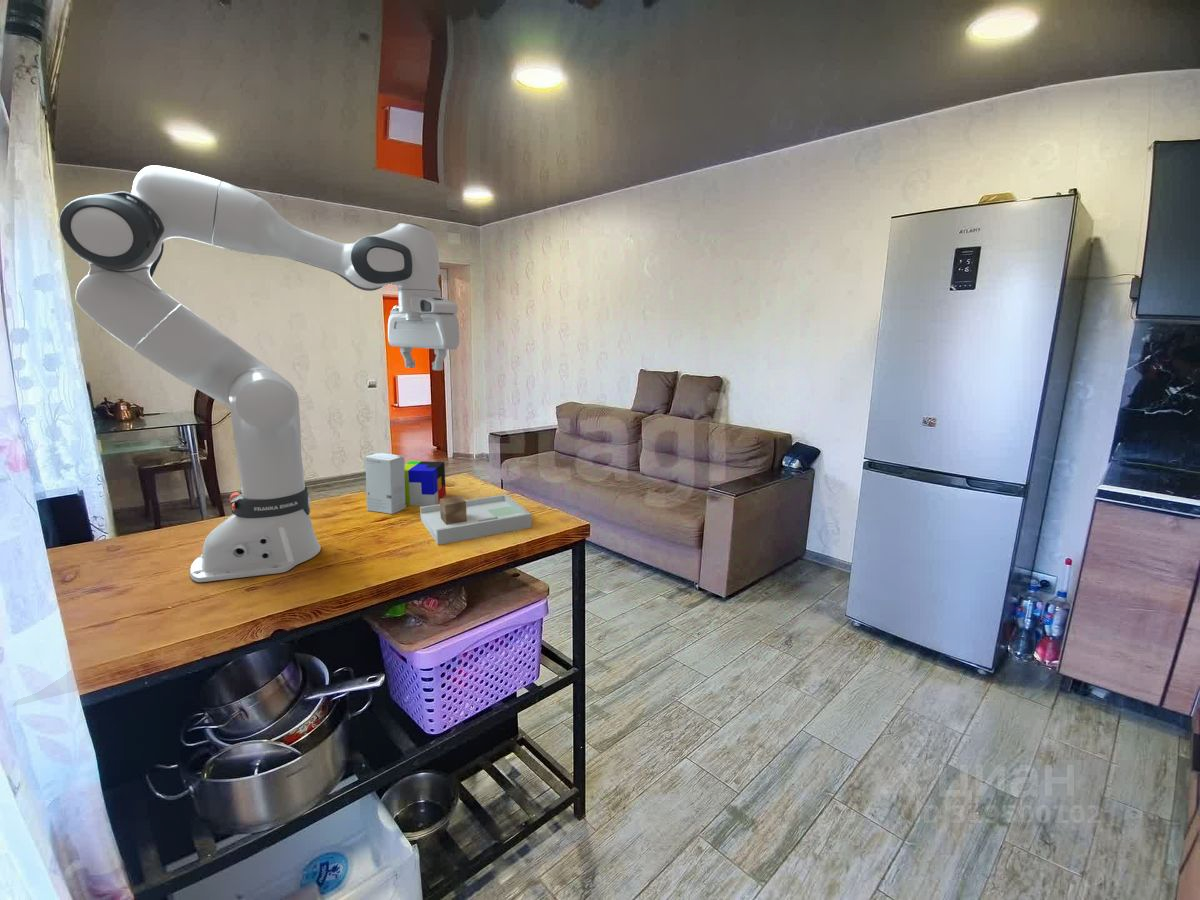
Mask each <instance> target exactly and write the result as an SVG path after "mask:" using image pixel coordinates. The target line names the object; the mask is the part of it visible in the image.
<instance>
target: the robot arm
mask: <svg viewBox="0 0 1200 900" xmlns="http://www.w3.org/2000/svg"><path fill="white" fill-rule="evenodd" d="M131 188H132V189H131V192H129V191H116V192H108V193H98V194H92V195H86V196H81V197H78V198H76V199H74V200H71V201H69V203H68V204H66V205H65V206H64V207H63V209H62V210H61V212H60V215H59V220H58V226H59V233H60V234H61V237H62V239H63V241H64V242H65V244H66V245H67V246H68V247H69V249H70V250H72V252H73V253H74V254H75V255H77V257H80V259H81V260H83V261H86V262H87V263H88V266H89V271H88V273H87V275H85V276H84V277H83V278H82V279H81V281H80V282H79V283H78V285H77V287H76V290H75V298H74V299H75V301H76V304H77V306H78V307H79V308H80V310H81V311H82V312H84V313H85V314H86V315H87V316H88V317H89V318H90V319H91V320H92V321H94V322H95V323H96V324H97V325H98V326H99V327H101V328H102V329H103V330H104V331H106V332H107V333H109V334H110V335H111V336H112V337H114V338H115V339H117V340H118V341H120V342H121V343H123V344H124V345H125V346H127V347H128V348H130V349H131V350H133V351H134V352H136V353H138V354H139V355H140V356H142V357H143V358H145V359H147V360H148V361H150V362H151V363H153V364H155V366H157V367H159V368H161V369H163V370H164V371H166V372H167V373H169V374H170V375H172V376H173V377H175V378H176V379H178V380H179V381H181V382H183V383H186V385H188V386H191V387H192V388H194V389H196V390H198V391H200V392H202V394H204V395H207V396H208V397H210V398H211V399H212V400H215V401H216V402H218V403H220V404H222V405H223V406H225V407H226V408H228V409H230V411H229V412H230V416H231V417H230V419H231V425H232V431H233V432H232V433H233V439H234V447H235V454H236V462H237V469H238V476H239V483H240V489H241V490H240V491H241V493H239V492H233V493H231V495H230V496H229V503H230V509H231V515H230V516H228V517H227V518H225V520H224V521H222V522H221V523H220V524H218V525H217V526H216V527H214V529H212V530H211V531H210V532H209V533H208V534H207V536H206V538H205V540H204V543H203V546H202V551H201V553H202V554H201V555H199V556H198V557H197V558H195V559H194V561H193V562H192V563H191V565H190V568H189V572H190V573H189V574H190V575H189V577H190V578H191V580H193V581H194V582H197V583H205V582H213V581H214V582H215V581H223V580H230V579H239V578H247V577H249V578H250V577H257V576H258V577H259V576H265V575H266V576H267V575H273V574H274V575H275V574H281V573H286V572H288V571H289V570H291V569H292V568H294V567H295V566H298V565H299V564H301V563H304V562H306V561H309V560H310V559H312V558H314V557H316V555H318V554H319V553H320V551H321V548H322V547H321V545H320V543H319V541H318V538H317V536H316V534H315V531H314V527H313V523H312V521H311V516H310V514H311V501H310V492H309V490H308V487H307V486H306V485H305V474H304V467H303V456H302V435H301V431H302V430H301V415H300V413H301V411H300V401H299V400H300V399H299V394H298V392H297V390H296V389H295V387H294V385H293V384H292V383H291V382H290V381H289V380H287V379H286V378H284V376H282V375H280V373H278V372H277V371H275V370H274V369H273V368H272V367H270V366H268V365H267V364H265V363H264V362H263V361H261V359H258V358H257V357H256V356H254V355H253V354H251V353H250V352H249V351H247V350H246V349H245V348H243V347H242V346H241V345H239V344H238V343H236V342H235V341H233V340H232V339H231V338H229V337H228V336H227V335H225V334H223V333H222V332H221V331H220V330H219V329H217V328H216V327H214V326H213V325H211V324H210V323H209V322H207V321H206V320H205V319H203V318H202V317H201V316H199V315H198V314H196V313H195V312H194V311H192V310H191V309H190V308H188V307H186V306H185V305H184V304H182V303H181V302H179V301H178V300H177V299H175V298H174V297H172V296H171V295H170V294H168V293H167V292H166V291H164V290H163V289H162V288H161V287H160V286H158V284H156V282H155V281H154V280H153V278H152V277H153V275H154V273H155V271H156V268H157V266H158V265H159V262H160V261H161V259H162V256H163V253H164V247H165V246H164V245H165V244H164V242H165V241H167V240H170V239H174V238H178V239H179V238H181V239H187V240H192V241H196V242H199V243H203V244H207V245H210V246H214V247H217V248H221V249H225V250H230V251H234V252H238V253H239V252H240V253H243V254H244V253H246V254H253V255H261V256H266V257H267V256H269V257H276V258H282V259H283V258H284V259H290V260H292V261H295V262H299V263H303V264H306V265H309V266H313V267H316V268H319V269H322V270H325V271H328V272H331V273H334V274H336V275H337V276H340V277H341V278H342V279H344V280H345V281H346V282H347V283H349V284H350V285H351V286H353V287H355V288H357V289H359V290H362V291H369V292H371V291H373V292H374V291H377V290H380V289H381V288H383V287H385V286H387V285H395V286H396V287H397V298H398V299H397V300H398V302H397V303H398V304H396V305H394V306H393V308H392V309H391V310H390V313H389V314H390V315H389V317H388V322H387V341H388V344H389V345H390V347H392V348H396V347H397V348H399V351H400V355H401V356H402V358H403V361H404V367H405V368H406V369H415V368H416V360H415V359H413V356H412V353H413V349H426V350H427V349H428V350H429V349H430V350H434V355H435V358H434V361H432V362H431V366H432V367H431V369H432V371H438V372H439V371H443V370H444V362H445V359H446V356H447V350H457V349H458V348H459V345H460V326H459V319H458V317H457V316H456V314H458V312H459V307H458V306H459V305H458V304H457V303H455V302H453V301H451V300H449V299H447V298H445V297H443V296H442V292H441V286H440V284H439V276H440V272H441V268H440V257H439V249H438V243H437V239H436V237H435V234H434V233H433V231H431V230H429V229H428V228H427V227H425V226H422V225H420V224H417V223H416V224H415V223H412V222H411V223H410V222H400V223H397V225H395V226H394V227H391V228H390V229H389V230H386V231H383V232H381V233H377V234H373V235H368V236H363V237H362V238H359V239H357V240H356V241H355V242H352V243H351V242H350V243H345V242H339V241H337V240H332V239H330V238H328V237H324V236H321V235H319V234H316V233H312V232H310V231H307V230H304V229H302V228H299V227H297V226H295V225H293V224H292V223H291V222H289V221H288V220H286V219H285V218H284V217H283V216H282V215H281V214H279V212H278V211H276V209H275V208H274V207H273V206H272V205H271V204H270V202H268V201H267V200H266V199H264V198H262V197H260V196H259V195H255V194H254V193H252V192H250V191H247V190H245V189H244V188H241V187H239V186H236V185H234V184H231V183H229V182H225V181H222V180H219V179H216V178H214V177H210V176H206V175H204V174H203V175H202V174H199V173H196V172H191V171H189V170H188V171H187V170H183V169H179V168H174V167H169V166H164V165H163V166H162V165H154V164H153V165H148V166H145V167H143V168H142V169H141V170H140V171H139V172H138V173H137V174H136V176H135V177H134V179H133V182H132V187H131Z"/></svg>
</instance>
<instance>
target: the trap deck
mask: <svg viewBox="0 0 1200 900" xmlns="http://www.w3.org/2000/svg"><path fill="white" fill-rule="evenodd" d="M464 500H465V501H466V514H467V521H466V522H460V523H454V524H448V525H446V524H445V523H444V522H443V520H442V519H441V514H440V503H439V504H438V503H437V504H436V505H430V506H420V507H419V511H420V513H419V515H420V521H421V522H422V525H424V527H425V529H426V530H427V531H428V533H429V534H430V535H431V536H432V539H433V540H434V541H435V543H436V544H437V545H445V544H451V543H456V542H461V541H467V540H473V539H477V538H481V537H488V536H492V535H493V536H494V535H498V534H504V533H508V532H514V531H520V530H521V531H522V530H525V529H532V527H533V525H532V524H533V523H532V518H533V516H532V513H531V512H529V511H528V510H527V509H526V508H524V506H522V505H521V504H519V503H518V502H516V501H515V500H514V499H513V498H511V497H510V496H509V495H507V494H505V493H503V494H499V495H492V496H484V497H477V498H472V499H467V500H466V499H464Z"/></svg>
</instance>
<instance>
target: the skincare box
mask: <svg viewBox="0 0 1200 900" xmlns="http://www.w3.org/2000/svg"><path fill="white" fill-rule="evenodd" d="M364 459H365V463H364V464H365V488H366V489H365V494H366V510H367V511H369V512H375V513H382V514H383V513H384V514H389V515H393V514H395V513H397V512H400V511H402V510H404V509H406V505H405V456H404V455H399V454H393V453H384V452H377V453H373V454H370V455H369V454H368V455H366V456H364Z"/></svg>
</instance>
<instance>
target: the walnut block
mask: <svg viewBox="0 0 1200 900" xmlns="http://www.w3.org/2000/svg"><path fill="white" fill-rule="evenodd" d="M465 500H466V499H464V498H463V497H462V496H461V495H457V496H452V497H451V496H450V497H443V498H442V499H440V501H439V504H440V514H441V519H442V520H443V522H444V523H445V524H446V525H448V524H454V523H460V522H466V521H467V514H466V501H465Z"/></svg>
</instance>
